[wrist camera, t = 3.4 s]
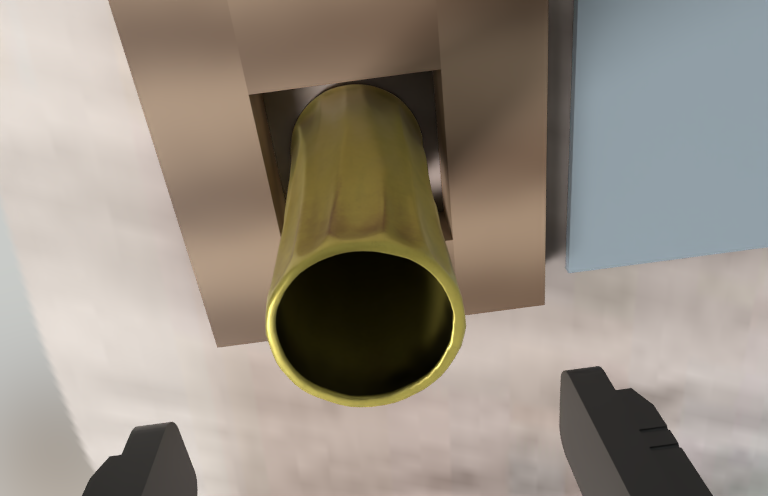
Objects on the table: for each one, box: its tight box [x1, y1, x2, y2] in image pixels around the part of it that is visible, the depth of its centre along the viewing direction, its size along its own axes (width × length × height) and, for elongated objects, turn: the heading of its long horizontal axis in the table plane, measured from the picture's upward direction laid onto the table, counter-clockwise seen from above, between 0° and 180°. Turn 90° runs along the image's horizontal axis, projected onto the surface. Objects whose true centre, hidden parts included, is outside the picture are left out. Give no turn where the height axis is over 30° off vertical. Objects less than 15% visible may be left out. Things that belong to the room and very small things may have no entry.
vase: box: [265, 84, 466, 407], centre depth 22 cm, size 6×6×14 cm
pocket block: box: [108, 0, 549, 347], centre depth 26 cm, size 16×16×3 cm
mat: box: [566, 0, 768, 273], centre depth 27 cm, size 16×14×1 cm
